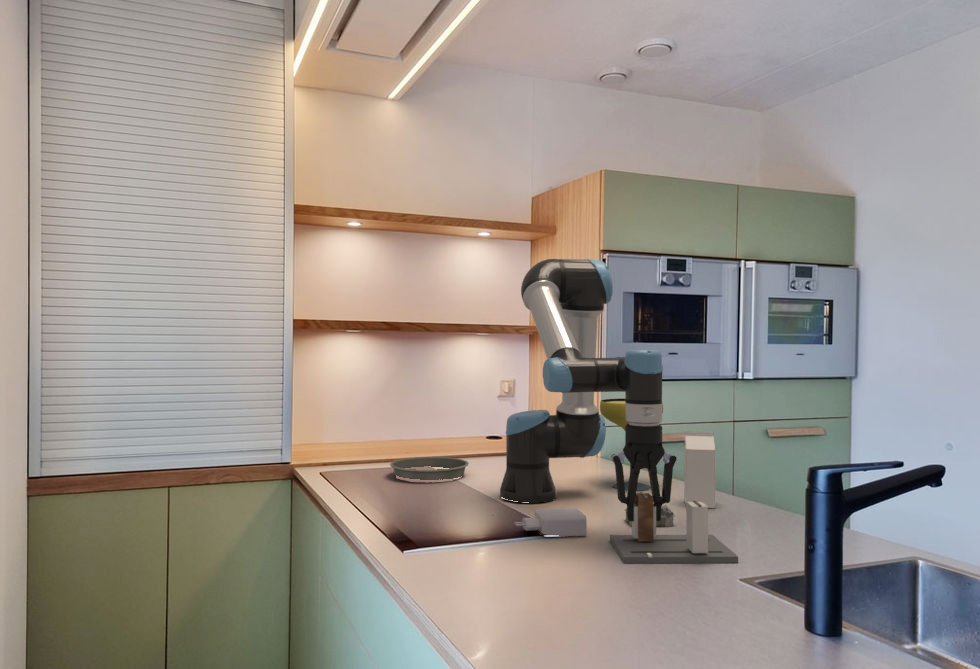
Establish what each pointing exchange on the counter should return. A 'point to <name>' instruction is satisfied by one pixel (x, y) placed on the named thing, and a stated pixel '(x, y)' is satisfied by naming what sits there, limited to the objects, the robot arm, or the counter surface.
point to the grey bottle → (557, 522)
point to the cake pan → (453, 464)
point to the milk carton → (699, 468)
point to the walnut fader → (645, 516)
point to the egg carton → (665, 517)
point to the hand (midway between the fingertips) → (643, 536)
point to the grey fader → (697, 527)
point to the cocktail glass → (616, 414)
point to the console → (669, 550)
